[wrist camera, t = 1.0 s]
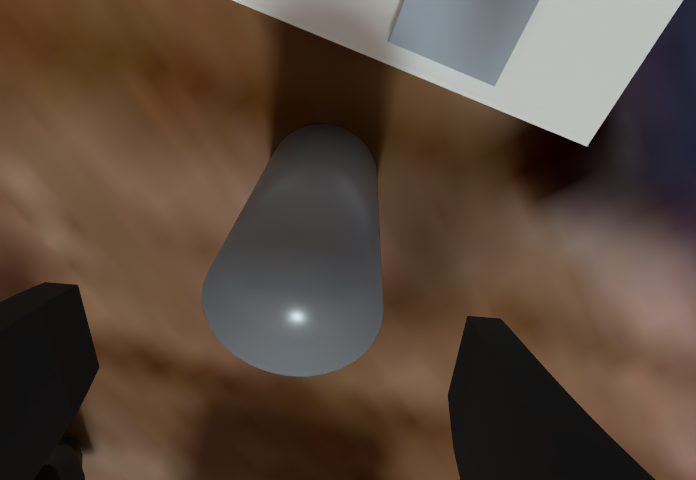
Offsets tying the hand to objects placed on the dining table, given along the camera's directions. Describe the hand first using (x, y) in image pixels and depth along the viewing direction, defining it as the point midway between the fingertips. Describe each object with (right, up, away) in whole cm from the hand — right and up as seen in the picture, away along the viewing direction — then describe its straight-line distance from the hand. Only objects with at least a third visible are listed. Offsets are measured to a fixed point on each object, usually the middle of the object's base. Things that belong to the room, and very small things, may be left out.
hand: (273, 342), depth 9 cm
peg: (+1, +4, +8) cm, 10 cm away
